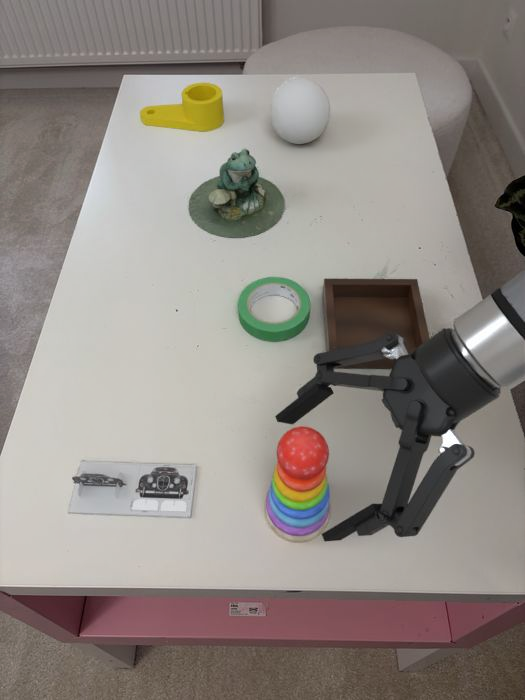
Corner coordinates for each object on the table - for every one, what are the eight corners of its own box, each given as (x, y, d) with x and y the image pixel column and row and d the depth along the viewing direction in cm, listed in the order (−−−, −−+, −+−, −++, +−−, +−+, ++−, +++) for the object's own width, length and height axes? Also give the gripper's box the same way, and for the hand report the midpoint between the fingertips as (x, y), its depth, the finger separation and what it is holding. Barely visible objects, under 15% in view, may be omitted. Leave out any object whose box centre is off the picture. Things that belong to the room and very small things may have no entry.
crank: (225, 110, 115) (223, 82, 110) (222, 131, 110) (220, 104, 105) (145, 108, 115) (139, 81, 110) (138, 130, 111) (132, 102, 106)
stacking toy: (341, 502, 64) (364, 435, 49) (307, 558, 60) (321, 504, 45) (287, 468, 67) (293, 394, 51) (252, 519, 63) (246, 456, 47)
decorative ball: (303, 116, 113) (306, 59, 103) (339, 142, 107) (346, 85, 98) (258, 135, 109) (257, 78, 99) (293, 163, 103) (295, 105, 94)
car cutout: (68, 513, 63) (56, 501, 60) (81, 462, 67) (71, 447, 64) (190, 518, 63) (185, 506, 59) (196, 466, 67) (192, 451, 63)
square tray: (426, 369, 75) (433, 355, 72) (327, 368, 75) (329, 354, 72) (412, 294, 83) (417, 278, 80) (322, 293, 84) (324, 278, 81)
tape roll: (229, 298, 83) (227, 287, 81) (292, 279, 85) (293, 268, 83) (253, 351, 77) (252, 340, 75) (320, 329, 79) (322, 318, 77)
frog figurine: (214, 250, 89) (207, 195, 80) (173, 192, 99) (163, 136, 89) (302, 217, 94) (306, 161, 85) (256, 164, 103) (254, 108, 94)
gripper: (579, 490, 41) (375, 591, 51) (425, 272, 55) (287, 385, 64) (553, 488, 36) (331, 601, 46) (390, 247, 49) (245, 374, 59)
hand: (305, 475), depth 55 cm, fingers open, 13 cm apart
